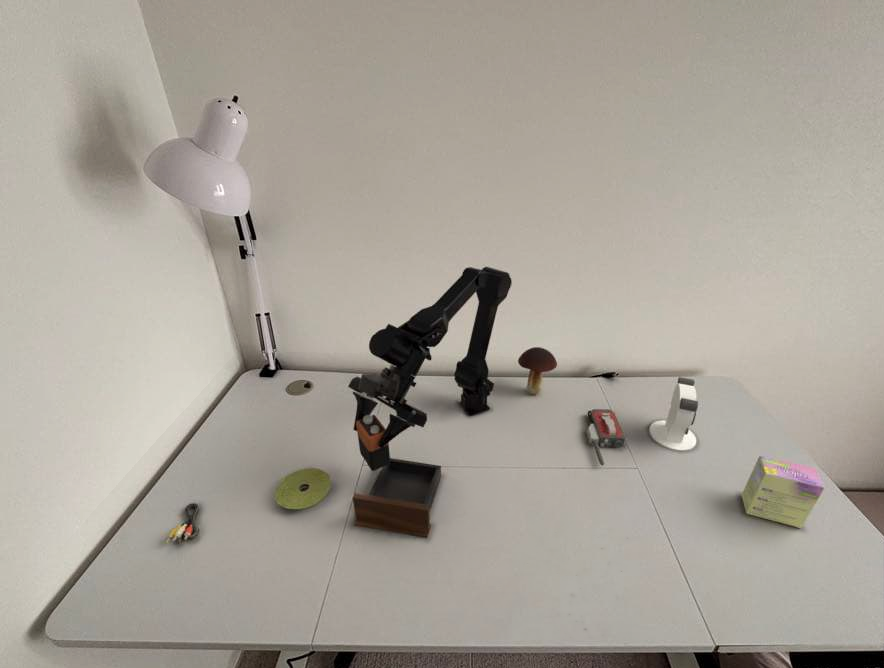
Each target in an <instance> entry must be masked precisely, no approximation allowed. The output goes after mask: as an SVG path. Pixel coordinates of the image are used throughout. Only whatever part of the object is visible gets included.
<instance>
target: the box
mask: <svg viewBox="0 0 884 668" xmlns="http://www.w3.org/2000/svg"><path fill="white" fill-rule="evenodd" d="M822 480H823V479H822V478H821V476H820V474H819V472H818V470H817V468H815V467H811V466H806V465H801V464H797V463H793V462H789V461H786V460H785V461H784V460H780V459H777V458H772V457H768V456H764V455H759V456H758V458H757V461H756V463H755V465H754V467H753V469H752V471H751V473H750V475H749V477H748V480H747V482H746V484H745V486H744V489H743V490H742V492H741V498H742V503H743V507H744V510H745V514H746V515H750V516H754V517H758V518H761V519H766V520H769V521H773V522H776V523H780V524H784V525H788V526H791V527H795V528H798V529H802V528H803V527H804V524H805V523H806V521H807V519H808V517H809V516H810V514H811V512H812V511H813V509H814V507H815V506H816V504H817V502H818V500H819V498H820V497H821V495H822V493H823V491H824V490H825V488H826V487H825V485H824V483H823V481H822Z"/></svg>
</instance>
